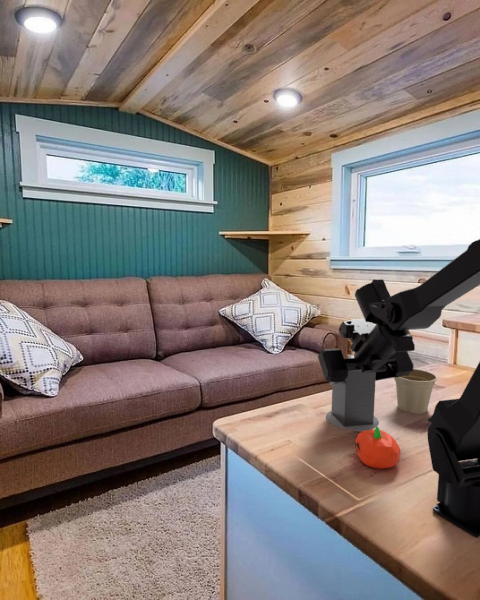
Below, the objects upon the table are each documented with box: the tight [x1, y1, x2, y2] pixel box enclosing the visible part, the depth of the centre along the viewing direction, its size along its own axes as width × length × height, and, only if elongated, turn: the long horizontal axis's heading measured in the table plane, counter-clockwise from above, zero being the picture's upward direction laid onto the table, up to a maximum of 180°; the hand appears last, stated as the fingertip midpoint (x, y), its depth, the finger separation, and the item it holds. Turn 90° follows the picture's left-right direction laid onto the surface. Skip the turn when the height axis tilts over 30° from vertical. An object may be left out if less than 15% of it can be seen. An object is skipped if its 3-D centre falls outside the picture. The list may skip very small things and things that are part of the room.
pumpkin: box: [354, 426, 402, 470], centre depth 69 cm, size 7×8×6 cm
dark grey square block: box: [331, 366, 376, 427], centre depth 86 cm, size 6×6×12 cm
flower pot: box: [393, 368, 438, 415], centre depth 92 cm, size 9×9×9 cm
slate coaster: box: [325, 410, 380, 432], centre depth 86 cm, size 11×11×1 cm
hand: (350, 381), depth 87 cm, fingers open, 9 cm apart
